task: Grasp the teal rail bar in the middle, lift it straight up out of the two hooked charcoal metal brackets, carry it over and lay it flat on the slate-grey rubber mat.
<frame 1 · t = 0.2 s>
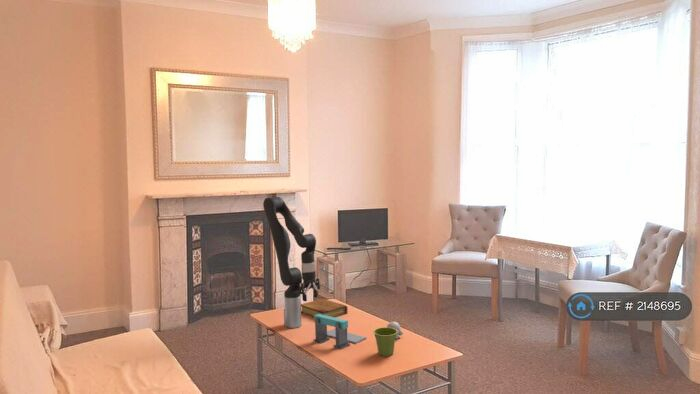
hand: (310, 299, 302), 18 cm above the table, tool pointing down, fingers open, 8 cm apart
rubber mat: (344, 336, 292), on the table
plant pot: (385, 354, 267), on the table
diary: (323, 314, 336), on the table
rail bar: (330, 324, 282), point 10 cm above the table, touching bracket stand
bracket stand: (331, 343, 283), on the table
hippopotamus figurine: (391, 339, 288), on the table
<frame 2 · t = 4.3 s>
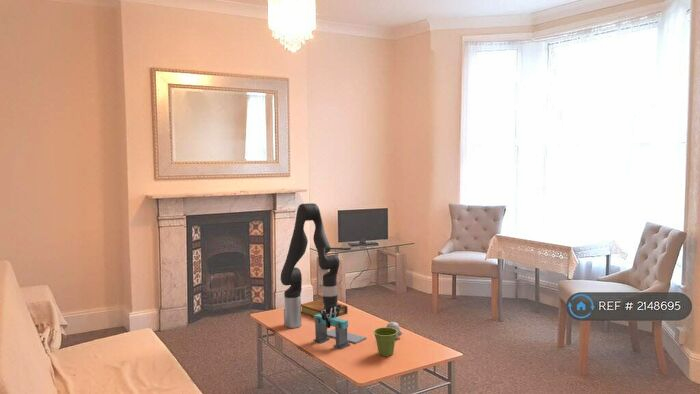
hand: (330, 326, 282), 9 cm above the table, tool pointing down, fingers closed on rail bar, 3 cm apart
rail bar: (330, 324, 282), point 10 cm above the table, touching bracket stand, gripper
everything else where it was.
when the fingers open (2 cm above the table, at t = 11.9 s): rail bar drops 2 cm, resting on rubber mat.
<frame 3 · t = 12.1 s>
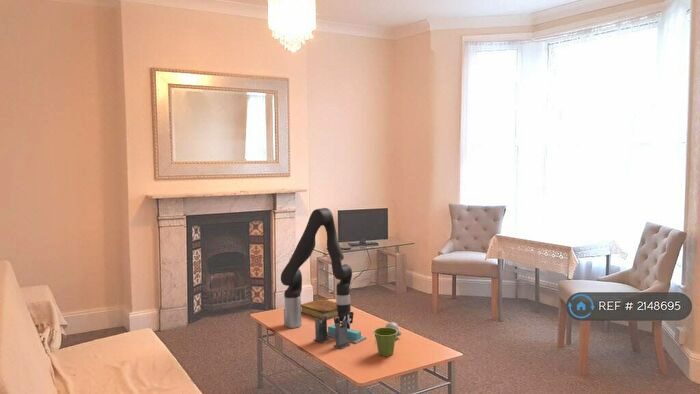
hand: (344, 333, 292), 2 cm above the table, tool pointing down, fingers open, 5 cm apart
rail bar: (344, 335, 292), point 1 cm above the table, touching rubber mat
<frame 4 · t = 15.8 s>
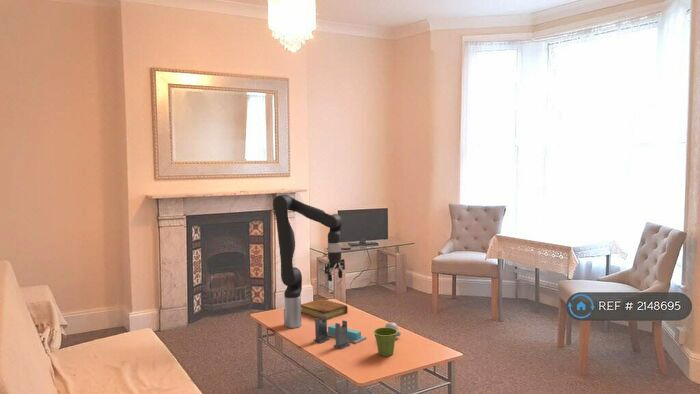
hand: (335, 279, 303), 28 cm above the table, tool pointing down, fingers open, 8 cm apart
at the end: rail bar inside the target area on the rubber mat (0.0 cm from its centre), point 0.8 cm above the rubber mat's base; rail bar tilted 0°; the gripper is holding nothing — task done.
